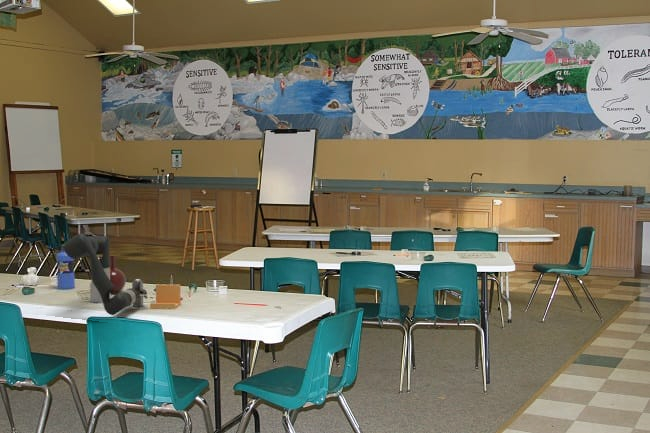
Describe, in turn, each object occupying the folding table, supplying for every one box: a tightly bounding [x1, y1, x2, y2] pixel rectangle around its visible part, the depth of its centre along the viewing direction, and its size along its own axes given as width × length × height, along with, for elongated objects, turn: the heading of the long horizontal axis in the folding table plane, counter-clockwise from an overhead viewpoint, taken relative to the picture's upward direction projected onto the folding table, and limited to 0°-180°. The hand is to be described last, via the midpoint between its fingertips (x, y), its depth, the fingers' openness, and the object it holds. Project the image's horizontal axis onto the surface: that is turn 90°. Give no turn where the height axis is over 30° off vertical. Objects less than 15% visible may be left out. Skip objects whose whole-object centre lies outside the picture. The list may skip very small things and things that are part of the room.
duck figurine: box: [20, 266, 40, 286], centre depth 464 cm, size 12×8×11 cm
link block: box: [131, 278, 144, 308], centre depth 397 cm, size 4×4×13 cm
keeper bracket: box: [149, 284, 182, 310], centre depth 396 cm, size 12×11×10 cm
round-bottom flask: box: [110, 255, 127, 294], centre depth 434 cm, size 13×13×20 cm
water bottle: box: [55, 243, 76, 291], centre depth 450 cm, size 9×9×25 cm
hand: (139, 291), depth 400 cm, fingers closed on link block, 4 cm apart
